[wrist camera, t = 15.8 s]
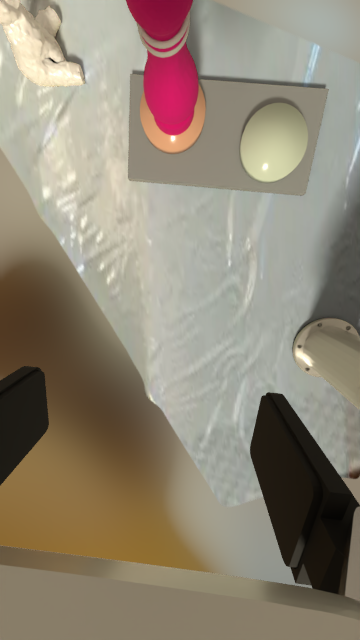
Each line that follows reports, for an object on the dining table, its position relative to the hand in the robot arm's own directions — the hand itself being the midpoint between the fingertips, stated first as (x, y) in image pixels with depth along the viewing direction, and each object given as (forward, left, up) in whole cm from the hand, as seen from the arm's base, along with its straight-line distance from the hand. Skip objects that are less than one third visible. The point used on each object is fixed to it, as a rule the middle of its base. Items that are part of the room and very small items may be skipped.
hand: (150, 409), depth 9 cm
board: (-4, -26, -34) cm, 43 cm away
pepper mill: (+4, -28, -32) cm, 42 cm away
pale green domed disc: (-12, -25, -33) cm, 43 cm away
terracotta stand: (+4, -28, -33) cm, 44 cm away
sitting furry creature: (+24, -34, -35) cm, 54 cm away
